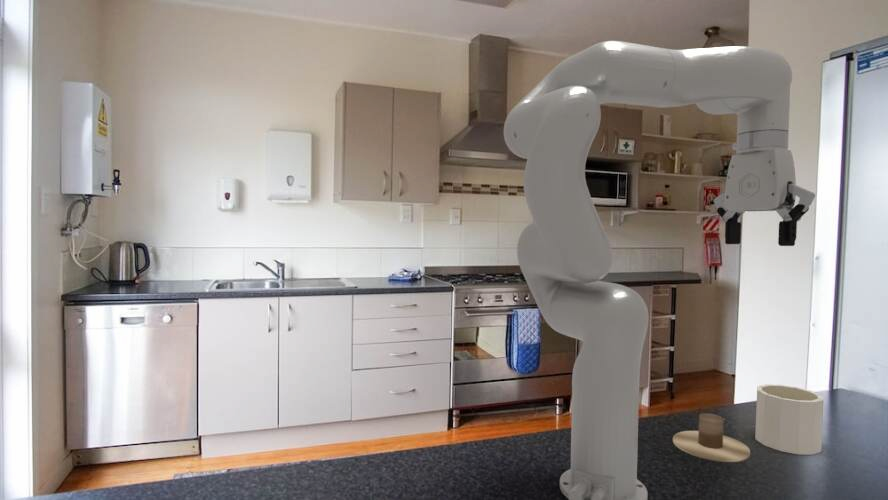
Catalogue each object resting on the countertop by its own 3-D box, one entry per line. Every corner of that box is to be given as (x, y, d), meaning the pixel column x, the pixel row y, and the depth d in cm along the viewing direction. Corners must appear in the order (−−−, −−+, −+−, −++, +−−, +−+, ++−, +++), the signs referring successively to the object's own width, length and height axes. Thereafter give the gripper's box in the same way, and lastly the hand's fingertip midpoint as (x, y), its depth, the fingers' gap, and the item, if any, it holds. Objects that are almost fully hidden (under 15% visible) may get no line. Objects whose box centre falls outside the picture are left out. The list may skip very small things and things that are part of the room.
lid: (748, 470, 86) (750, 436, 86) (667, 452, 93) (668, 420, 92) (751, 444, 96) (752, 414, 96) (678, 429, 103) (679, 401, 103)
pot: (823, 459, 89) (825, 405, 89) (754, 445, 95) (756, 395, 95) (818, 439, 98) (820, 390, 98) (756, 428, 103) (757, 381, 103)
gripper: (702, 150, 94) (700, 243, 95) (799, 134, 79) (795, 246, 79) (731, 153, 97) (728, 243, 98) (830, 138, 82) (825, 246, 82)
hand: (758, 244), depth 89 cm, fingers open, 9 cm apart
